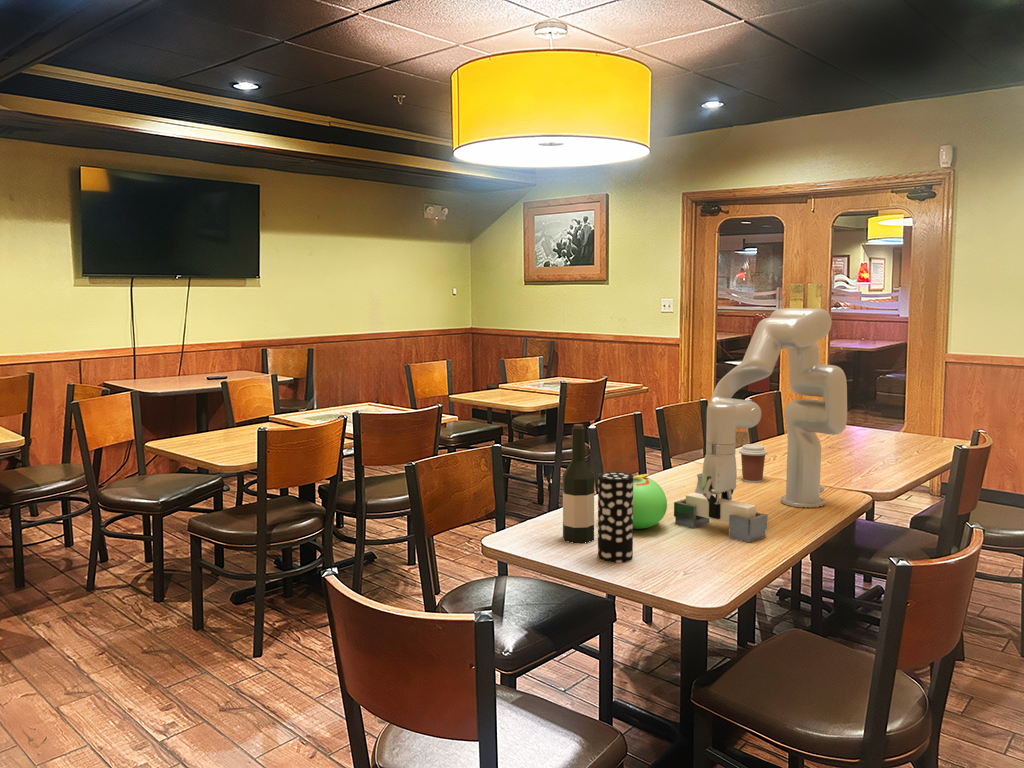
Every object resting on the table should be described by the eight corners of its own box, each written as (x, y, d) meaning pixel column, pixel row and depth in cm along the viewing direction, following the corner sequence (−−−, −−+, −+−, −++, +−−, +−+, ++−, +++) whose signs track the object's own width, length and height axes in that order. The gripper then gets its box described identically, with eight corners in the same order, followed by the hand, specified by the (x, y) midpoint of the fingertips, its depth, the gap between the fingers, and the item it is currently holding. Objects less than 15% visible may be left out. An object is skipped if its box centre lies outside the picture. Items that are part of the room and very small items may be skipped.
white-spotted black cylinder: (594, 552, 190) (595, 472, 188) (628, 551, 191) (628, 471, 189) (601, 563, 182) (601, 480, 180) (636, 562, 183) (637, 479, 181)
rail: (694, 510, 216) (694, 492, 215) (755, 524, 201) (755, 505, 201) (685, 512, 213) (685, 495, 212) (747, 527, 199) (747, 508, 198)
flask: (714, 511, 226) (715, 477, 225) (689, 510, 228) (690, 476, 226) (713, 504, 233) (714, 472, 232) (689, 503, 235) (689, 471, 234)
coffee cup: (739, 476, 269) (740, 442, 268) (767, 478, 266) (768, 444, 265) (737, 482, 261) (738, 447, 259) (765, 484, 257) (766, 449, 256)
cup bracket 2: (744, 531, 206) (745, 509, 205) (766, 537, 201) (767, 514, 200) (728, 537, 201) (729, 515, 200) (751, 543, 196) (751, 520, 195)
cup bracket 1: (689, 518, 219) (690, 497, 218) (709, 523, 214) (709, 501, 213) (673, 523, 214) (674, 502, 213) (693, 528, 209) (693, 506, 208)
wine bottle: (597, 535, 204) (598, 423, 200) (590, 545, 196) (590, 428, 192) (567, 532, 206) (566, 421, 203) (558, 542, 198) (558, 426, 195)
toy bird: (676, 534, 204) (676, 480, 202) (614, 538, 201) (614, 483, 200) (652, 516, 222) (653, 465, 220) (595, 519, 219) (595, 468, 217)
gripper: (726, 442, 213) (725, 507, 216) (690, 451, 202) (689, 519, 204) (750, 446, 208) (749, 513, 210) (714, 455, 197) (713, 525, 199)
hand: (719, 515), depth 207 cm, fingers closed on rail, 4 cm apart
